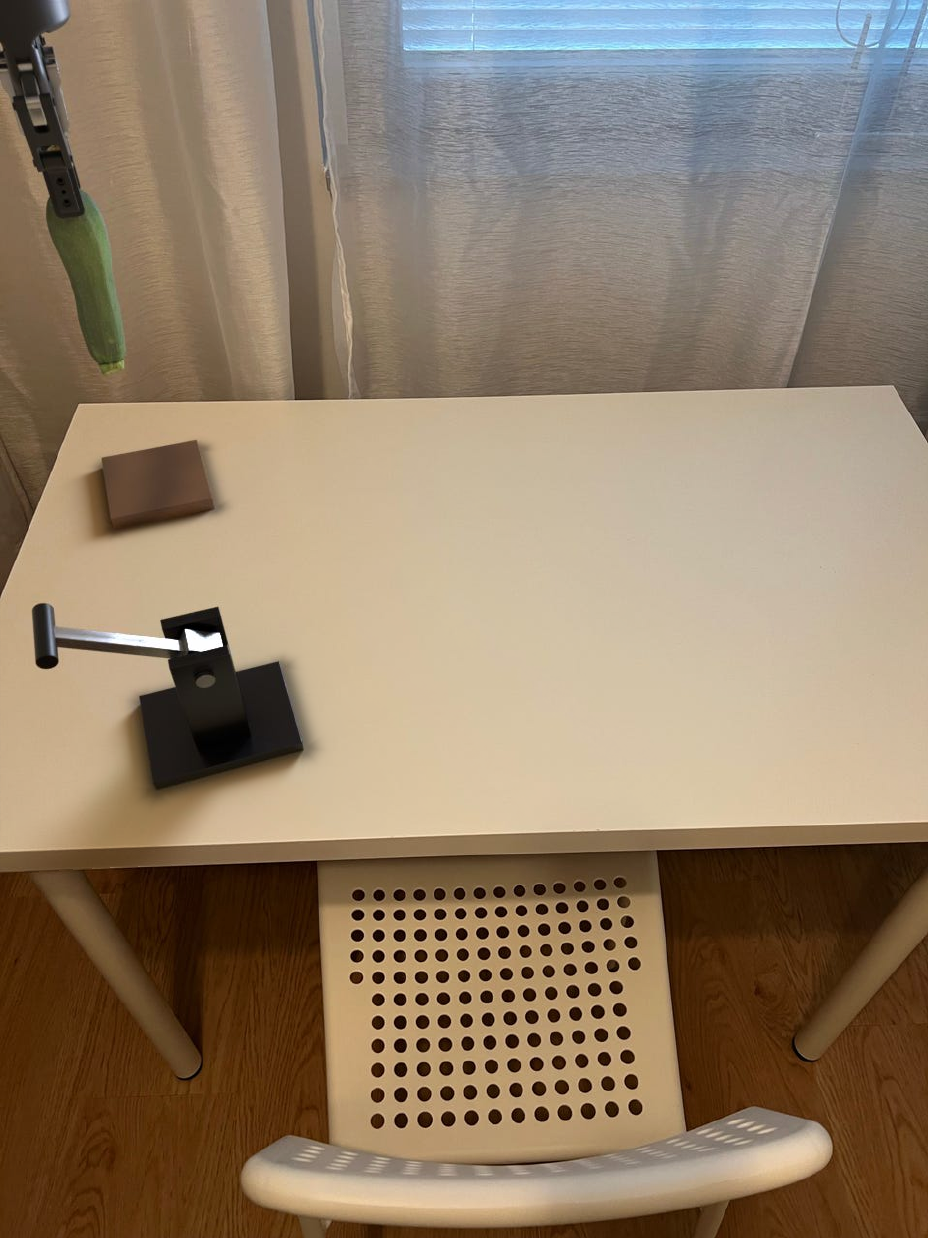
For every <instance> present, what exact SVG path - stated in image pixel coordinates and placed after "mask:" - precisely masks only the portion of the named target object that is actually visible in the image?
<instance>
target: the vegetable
mask: <svg viewBox="0 0 928 1238" xmlns="http://www.w3.org/2000/svg"><path fill="white" fill-rule="evenodd" d="M59 149H60V148H59V146H57V145H51V147H49V148H48V149H47V151H50V150H59ZM80 193H81V196H82V200H83V203H84V208H85V213H84V214H83V215H82V216H77V217H70V218H59V217H58V216H56V214H55V212H54V208H53V205H52V202H51V199H50V196H49V197H48V199H47V201H46V205H45V220H46V225H47V229H48V232H49V236H50V239H51V241H52V244H53V245H54V247H55V250H56V252H57V254H58V256H59V259H60V260H61V264H62V265H63V267H64V269H65V271H66V274H67V276H68V279H69V282H70V283H69V284H70V286H71V290H72V292H73V296H74V300H75V306H76V313H77V318H78V323H79V327H80V331H81V333H82V336H83V338H84V339H83V340H84V343H85V345H86V349H87V351H88V353H89V356H90V357H91V358H92V359H93V361H94V362H96V363H97V365H98V367H99V369H100V373H101V374H102V375H103V376H104V377H106V378H107V377H108V376H109V374H113V373H117V372H120V371H122V370H123V371H124V370H125V360H124V359H125V356H126V352H127V347H126V338H125V333H124V323H123V317H122V311H121V307H120V304H119V300H118V294H117V288H116V283H115V279H114V271H113V255H112V247H111V242H110V237H109V234H108V229H107V225H106V221H105V219H104V215H103V213H102V212H101V210H100V207H99V205H98V204H97V202H96V201H95V200H94V199H93V198H92V196H90V194H88V193H87V192H86V191H84V190H83V189H80Z"/></svg>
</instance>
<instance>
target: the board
mask: <svg viewBox="0 0 928 1238" xmlns="http://www.w3.org/2000/svg"><path fill="white" fill-rule="evenodd" d="M101 466H102V472H103V478H104V485H105V492H106V497H107V504H108V510H109V516H110V521H111V523H112V527H113V529H114V530H118V529H122V528H128V527H133V526H137V525H143V524H147V523H152V522H156V521H162V520H166V519H172V518H176V517H181V516H186V515H190V514H195V513H200V512H204V511H211V510H215V509H216V507H215V504H214V499H213V495H212V491H211V487H210V484H209V480H208V477H207V472H206V468H205V465H204V461H203V457H202V454H201V449H200V446H199V442H198V440H197V439H193V440H187V441H182V442H176V443H172V444H167V445H162V446H156V447H150V448H145V449H140V450H134V451H129V452H125V453H119V454H113V455H108V456H102V457H101Z"/></svg>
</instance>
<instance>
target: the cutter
mask: <svg viewBox="0 0 928 1238" xmlns="http://www.w3.org/2000/svg"><path fill="white" fill-rule="evenodd" d="M160 626H161V631H162V634H163V636H164V639H173V640H179V639H180V637H181V635H182V633H183V631H184V629H189V630H198V631H206V632H214V633H220V637H221V641H222V645H223V646H221V647H217V648H213V649H208V650H204V651H200V652H196V653H192V654H188V655H184V656H180V657H175V658H171V659H169V658H167V664H168V669H169V673H170V674H171V678H172V681H173V684H174V686H173V687H169V688H166V689H165V688H164V689H161V690H157V691H153V692H149V693H145V694H141V695H139V696H138V699H139V705H140V711H141V719H142V725H143V731H144V737H145V743H146V751H147V756H148V763H149V768H150V775H151V776H150V777H151V781H152V785H153V787H154V791H160V790H163V789H168V788H171V787H173V786H177V785H178V786H179V785H182V784H185V783H190V782H193V781H195V780H196V781H197V780H200V779H203V778H206V777H210V776H214V775H218V774H221V773H226V772H228V771H232V770H236V769H241V768H243V767H246V766H251V765H254V764H259V763H261V762H265V761H268V760H273V759H276V758H279V757H283V756H288V755H291V754H294V753H298V752H302V751H305V748H304V741H303V739H302V736H301V732H300V729H299V724H298V721H297V717H296V714H295V711H294V706H293V703H292V700H291V697H290V694H289V693H290V692H289V690H288V686H287V682H286V679H285V675H284V672H283V668H282V665H281V662H280V661H279V660H277V661H274V662H269V663H266V664H262V665H257V666H254V667H249V668H245V669H241V670H238V671H236V667H235V663H234V660H233V655H232V651H231V648H230V644H229V641H228V636H227V633H226V629H225V626H224V622H223V617H222V613H221V610H220V607H219V606H214V607H210V608H207V609H206V608H205V609H200V610H197V611H193V612H189V613H184V614H179V615H175V616H171V617H167V618H163V619H160Z"/></svg>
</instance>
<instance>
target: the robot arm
mask: <svg viewBox="0 0 928 1238" xmlns="http://www.w3.org/2000/svg"><path fill="white" fill-rule="evenodd" d="M70 17H71V7H70V4H69V0H0V45H1V47H2V49H0V84H1V87H2V89H3V91H4V92H6V93H7V94H8V97H9V101H10V103H11V106H12V110H13V114H14V118H15V120H16V123H17V127H18V130H19V133H20V134H21V135H23V136H24V137H25V140H26V143H27V145H28V148H29V151H30V154H31V157H32V164H33V167H34V168H35V169H36V171H37V173H42V177H43V179H44V182H45V186H46V190H47V192H48V195H49V197H50V199H51V202H52V205H53V208H54V212H55V214H56V216H58V217H59V218H70V217H77V216H82V215H83V214H84V213H85V208H84V203H83V200H82V196H81V193H80V189H81V187H82V186H81V181H80V177H79V174H78V171H77V168H76V164H75V158H74V153H72V150H71V146H70V142H69V139H70V138H69V134H70V131H69V130H70V119H69V116H68V113H67V104H66V100H65V95H64V92H63V88H62V77H61V73H60V67H59V61H58V58H57V55H56V51H55V48H54V45H53V44H52V45H51V44H50V45H47V42H46V39H45V36H43V34H45V33H47V34H51V33H53V32H55V31H58V30H59V29H62V28H63V27H64V26H65V25H66V24H67V23H68V22H69V20H70ZM51 145H57V146H59V148H60V149H59V150H50V151H47V149H48V148H49V147H51ZM81 190H82V189H81Z"/></svg>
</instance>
